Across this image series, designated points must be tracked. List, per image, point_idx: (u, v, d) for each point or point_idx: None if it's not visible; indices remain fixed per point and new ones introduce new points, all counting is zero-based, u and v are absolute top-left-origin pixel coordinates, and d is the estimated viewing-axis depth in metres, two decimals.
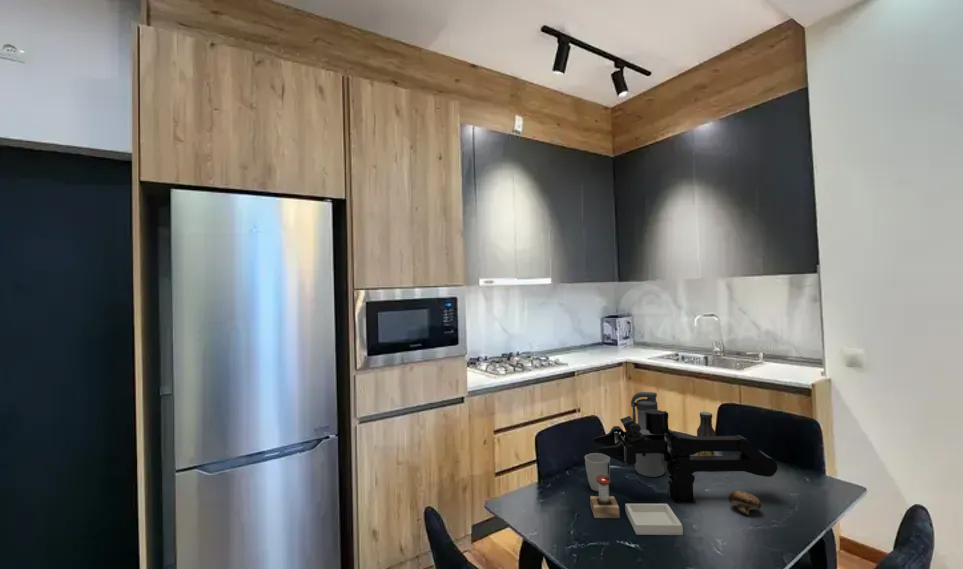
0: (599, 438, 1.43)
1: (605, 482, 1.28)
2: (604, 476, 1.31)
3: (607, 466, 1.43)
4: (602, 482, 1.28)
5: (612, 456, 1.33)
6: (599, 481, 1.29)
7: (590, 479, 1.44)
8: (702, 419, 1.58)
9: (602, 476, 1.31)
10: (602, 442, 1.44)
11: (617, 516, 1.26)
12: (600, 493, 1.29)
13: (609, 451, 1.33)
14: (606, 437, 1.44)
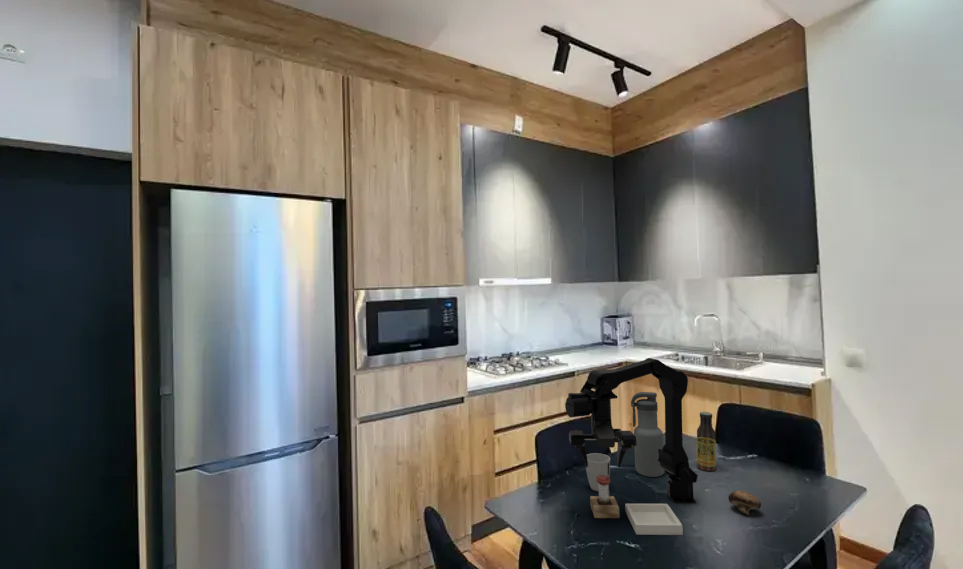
0: (587, 461, 1.30)
1: (605, 482, 1.28)
2: (604, 476, 1.31)
3: (607, 466, 1.43)
4: (602, 482, 1.28)
5: None
6: (599, 481, 1.29)
7: (590, 479, 1.44)
8: (702, 419, 1.58)
9: (602, 476, 1.31)
10: None
11: (617, 516, 1.26)
12: (600, 493, 1.29)
13: None
14: (586, 454, 1.30)
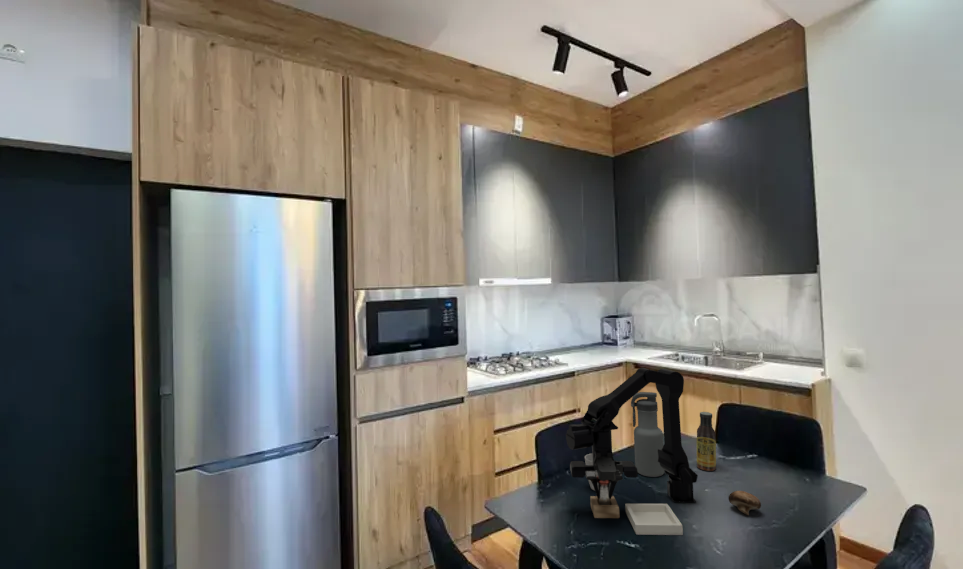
0: (598, 492, 1.30)
1: (605, 482, 1.28)
2: None
3: None
4: (602, 482, 1.28)
5: None
6: (599, 481, 1.29)
7: None
8: (702, 419, 1.58)
9: None
10: None
11: (617, 516, 1.26)
12: (600, 493, 1.29)
13: None
14: (597, 485, 1.29)
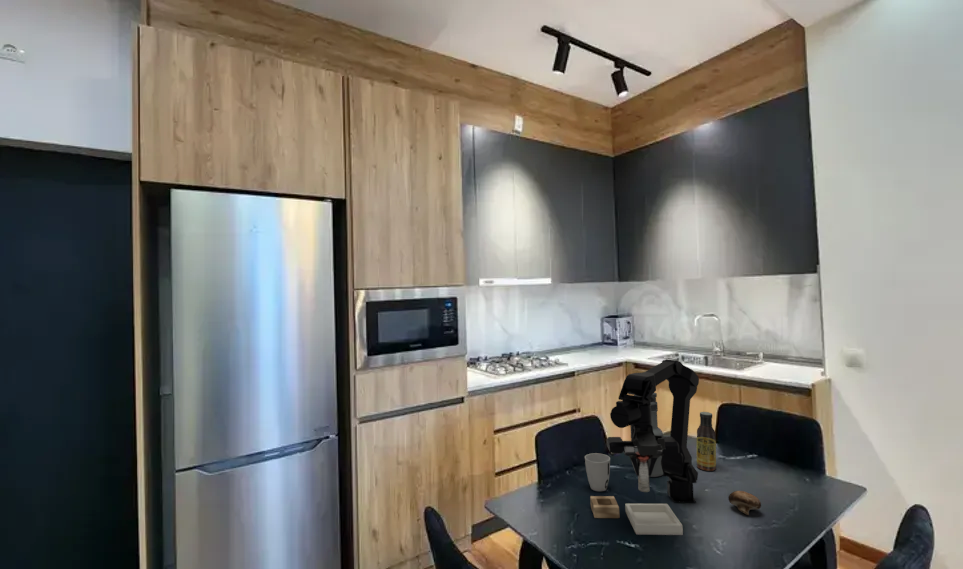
0: (637, 469, 1.24)
1: (645, 458, 1.22)
2: None
3: (607, 466, 1.43)
4: (641, 458, 1.22)
5: None
6: (638, 457, 1.23)
7: (590, 479, 1.44)
8: (702, 419, 1.58)
9: None
10: None
11: (617, 516, 1.26)
12: (639, 470, 1.23)
13: None
14: None
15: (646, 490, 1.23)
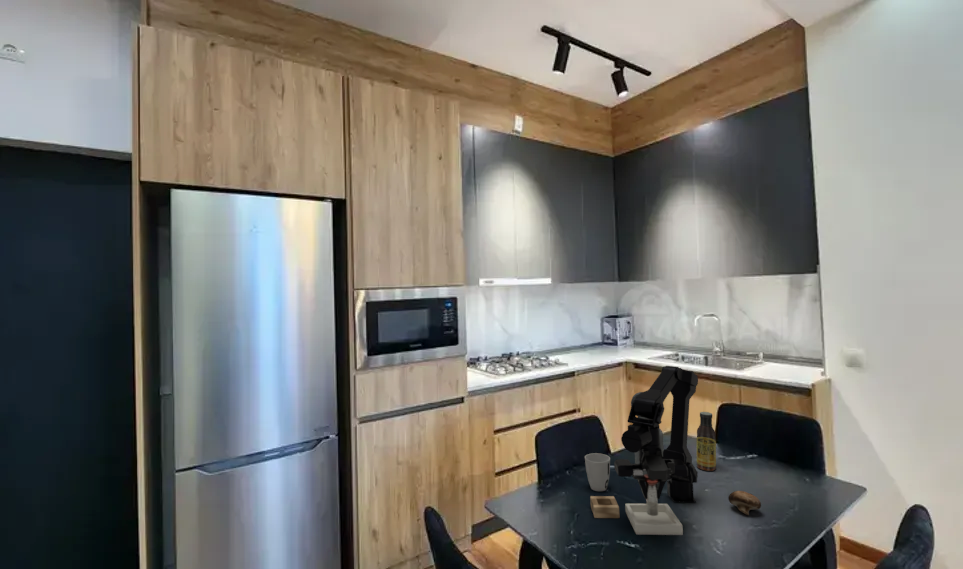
0: None
1: (653, 481, 1.21)
2: None
3: (607, 466, 1.43)
4: (650, 481, 1.21)
5: None
6: (647, 480, 1.22)
7: (590, 479, 1.44)
8: (702, 419, 1.58)
9: None
10: None
11: (617, 516, 1.26)
12: (648, 493, 1.22)
13: None
14: None
15: (655, 514, 1.21)
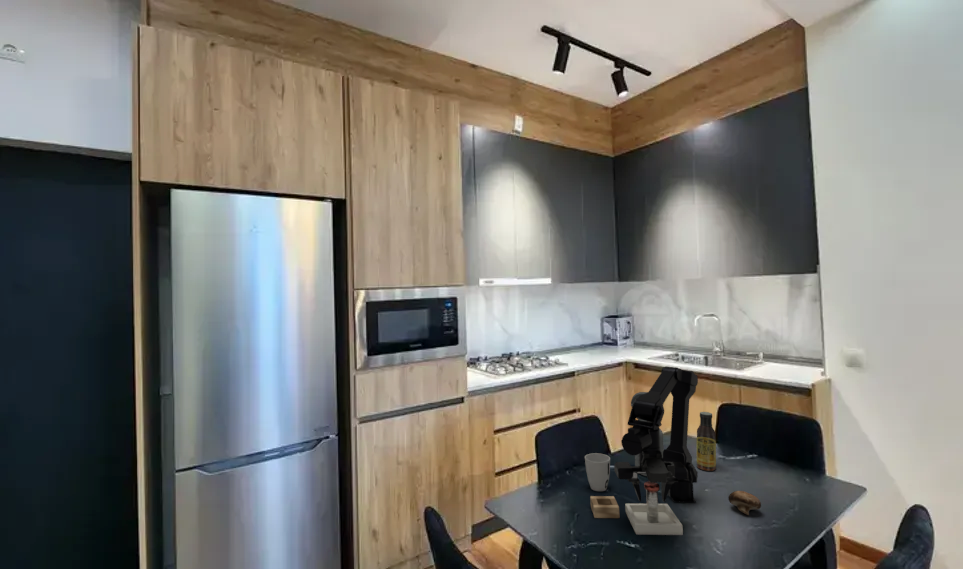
0: (640, 495, 1.23)
1: (654, 489, 1.21)
2: (652, 483, 1.24)
3: (607, 466, 1.43)
4: (651, 489, 1.21)
5: None
6: (648, 488, 1.22)
7: (590, 479, 1.44)
8: (702, 419, 1.58)
9: (650, 483, 1.24)
10: None
11: (617, 516, 1.26)
12: (648, 501, 1.22)
13: None
14: None
15: (655, 521, 1.21)
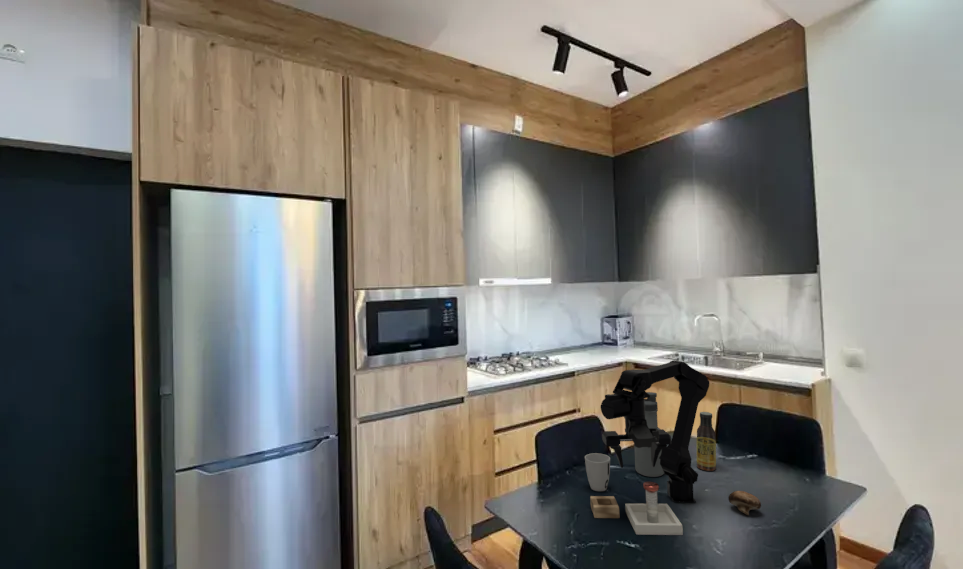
0: None
1: (654, 489, 1.21)
2: (651, 483, 1.24)
3: (607, 466, 1.43)
4: (650, 489, 1.21)
5: None
6: (647, 488, 1.22)
7: (590, 479, 1.44)
8: (702, 419, 1.58)
9: (649, 483, 1.24)
10: None
11: (617, 516, 1.26)
12: (648, 501, 1.22)
13: None
14: None
15: (655, 522, 1.21)
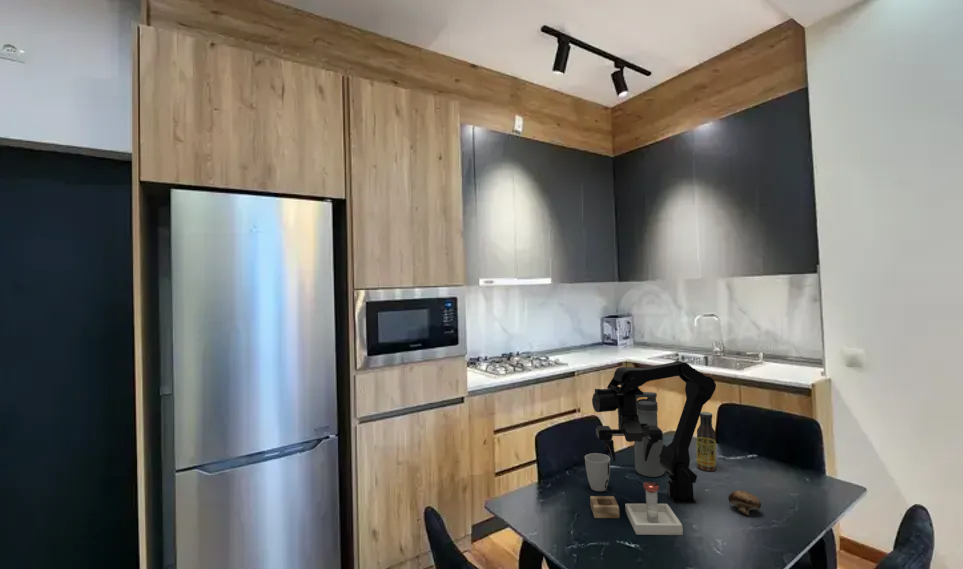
0: (614, 455, 1.34)
1: (654, 489, 1.21)
2: (651, 483, 1.24)
3: (607, 466, 1.43)
4: (650, 489, 1.21)
5: None
6: (647, 488, 1.22)
7: (590, 479, 1.44)
8: (702, 419, 1.58)
9: (649, 483, 1.24)
10: None
11: (617, 516, 1.26)
12: (648, 501, 1.22)
13: None
14: (613, 448, 1.34)
15: (655, 522, 1.21)
